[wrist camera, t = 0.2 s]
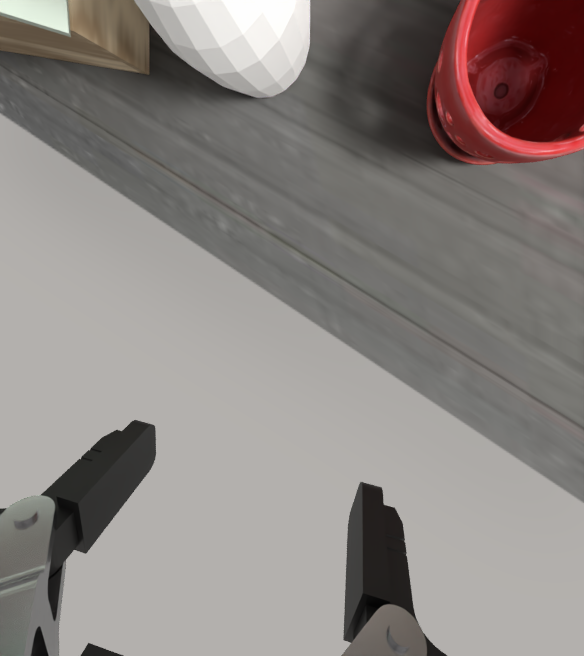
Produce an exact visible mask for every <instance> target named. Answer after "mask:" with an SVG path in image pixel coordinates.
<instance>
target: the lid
mask: <svg viewBox="0 0 584 656" xmlns="http://www.w3.org/2000/svg"><path fill="white" fill-rule="evenodd" d="M0 16H4V17H7V18H10V19H13V20H17V21H20V22H23V23H26V24H30V25H33V26H36V27H39V28H43V29H46V30H49V31H52V32H56V33H59V34H62V35H65V36H69V37H71V33H70V20H69V7H68V0H0Z"/></svg>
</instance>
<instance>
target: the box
mask: <svg viewBox="0 0 584 656" xmlns="http://www.w3.org/2000/svg"><path fill="white" fill-rule="evenodd" d="M68 7H69V20H70V33H71V37H69V36H65V35H62V34H59V33H56V32H52V31H49V30H46V29H43V28H39V27H36V26H33V25H30V24H26V23H23V22H20V21H17V20H13V19H10V18H7V17H4V16H0V50H1V51H7V52H14V53H20V54H26V55H32V56H38V57H44V58H50V59H56V60H62V61H69V62H75V63H81V64H87V65H93V66H99V67H105V68H111V69H117V70H124V71H130V72H136V73H142V74H148V75H149V21H148V20H147V18H146V17H145V16H144V14H143V13H142V11H141V10H140V8H139V7H138V6H137V4H136V3H135V1H134V0H68Z"/></svg>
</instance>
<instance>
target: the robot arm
mask: <svg viewBox="0 0 584 656" xmlns="http://www.w3.org/2000/svg"><path fill="white" fill-rule="evenodd" d="M155 456H156V437H155V426H154V425H152V424H148V423H145V422H141V421H137V420H134V421H132V422H131V423H130V424H129V425H128V426H127V427H126V428H125V429H124V430H123V431H118V430H116V431H114V432H112V433H110V434H108V435H106V436H104V437H102V438H101V439H100V440H99V441H98V442H97V443H96V444H95V445H94V446H93V447H92V448H91V450H90V451H89V450H88V451H87V452H86V453H85V454H84V455H83V456H82V458H81V459H79V460H78V461H77V462H76V463H75V464H73V465H72V466H71V467H70V469H68V470H67V471H66V472H65V473H64V474H63V475H62V476H61V477H60V478H59V479H57V480H56V481H55V482H54V483H53V484H52V485H51V486H50V487H49V488H48V489H47V490H46V491H45V492H44V493H42V494H41V495H39V496H31V497H27V498H24V499H22V500H20V501H18V502H16V503H14V504H12V505H11V506H10V507H8V508H5V509H0V656H59V621H60V611H61V603H62V595H63V586H64V577H65V569H66V559H67V558H68V556H69V555H70V554H71V553H72V552H73V550H77V551H80V552H83V553H87V552H88V550H89V549H90V548H91V546H92V545H93V544H94V543H95V541H96V540H97V539H98V537H99V536H100V535H101V533H102V532H103V531H104V529H105V528H106V527H107V526H108V524H109V523H110V522H111V520H112V519H113V517H114V516H115V515H116V514H117V512H118V511H119V510H120V508H121V507H122V506H123V505H124V503H125V502H126V501H127V499H128V498H129V497H130V496H131V494H132V493H133V492H134V490H135V489H136V488H137V486H138V485H139V484H140V483H141V481H142V480H143V479H144V477H145V476H146V475H147V473H148V472H149V471H150V469H151V467H152V465H153V463H154V460H155ZM404 540H405V539H404V531H403V524H402V521H401V519H400V517H399V515H398V513H397V511H396V510H395V508H393V507H390V506H386V505H384V504H383V491H382V488H381V487H377V486H374V485H370V484H366V483H363V482H361V483H360V484H359V487H358V490H357V493H356V496H355V499H354V502H353V506H352V508H351V512H350V516H349V523H348V539H347V565H346V590H345V616H344V640H345V641H348V642H351V644H350V645H349V647H348V648H347V649H346V650H345V652H344V653H343V654H342V656H447V655H446V654H444V653H443V652H441V651H440V650H439V649H438V648H436V647H435V646H434V645H433V644H432V643H431V642H430V641H429V640H428V638H427V637H426V636H425V634H424V633H423V631H422V629H421V627H420V626H419V624H418V622H417V619H416V617H415V613H414V608H413V601H412V593H411V585H410V578H409V570H408V562H407V556H406V547H405V542H404ZM81 656H123V655H120V654H117V653H114V652H111V651H109V650H106V649H103V648H101V647H98V646H95V645H93V644H90V643H88V645H87V646H86V648H85V650H84V651H83V653H82V655H81Z"/></svg>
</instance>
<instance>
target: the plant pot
mask: <svg viewBox="0 0 584 656" xmlns="http://www.w3.org/2000/svg"><path fill="white" fill-rule="evenodd" d="M427 116H428V122H429V125H430V128H431V131H432V133H433V135H434V137H435V139H436V140H437V142H438V143H439V145H440V146H441V147H442V148H443V149H444V150H445V151H446V152H447V153H449V154H450V155H451V156H453V157H454V158H456V159H458V160H461V161H463V162H466V163H470V164H476V165H489V164H496V163H527V162H537V161H543V160H548V159H553V158H557V157H560V156H564V155H568V154H571V153H574V152H577V151H580V150H582V149H584V0H461V1H460V3H459V5H458V7H457V9H456V11H455V13H454V15H453V17H452V20H451V22H450V24H449V26H448V29H447V31H446V34H445V37H444V39H443V43H442V46H441V49H440V53H439V57H438V61H437V63H436V65H435V68H434V70H433V73H432V76H431V79H430V83H429V87H428V94H427Z"/></svg>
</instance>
